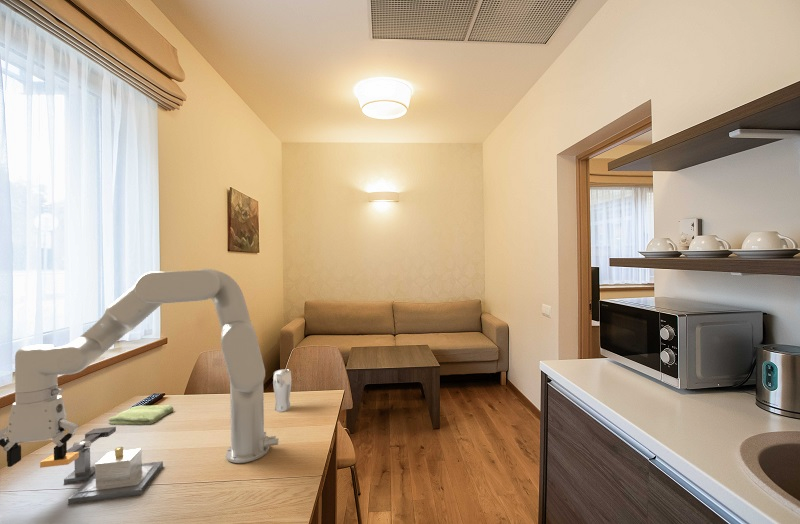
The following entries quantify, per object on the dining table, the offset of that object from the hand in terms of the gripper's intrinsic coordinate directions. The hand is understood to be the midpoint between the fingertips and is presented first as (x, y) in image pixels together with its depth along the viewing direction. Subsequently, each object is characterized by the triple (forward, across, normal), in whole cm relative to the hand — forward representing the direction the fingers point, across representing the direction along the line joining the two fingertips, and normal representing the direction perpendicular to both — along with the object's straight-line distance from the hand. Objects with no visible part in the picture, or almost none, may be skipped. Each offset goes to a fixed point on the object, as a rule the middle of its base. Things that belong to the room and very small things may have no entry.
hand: (37, 461), depth 90 cm
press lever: (+1, -5, -9) cm, 10 cm away
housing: (+8, -17, -3) cm, 19 cm away
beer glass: (+9, -55, -42) cm, 70 cm away
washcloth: (+10, -3, -47) cm, 48 cm away
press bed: (+10, -13, -4) cm, 17 cm away
